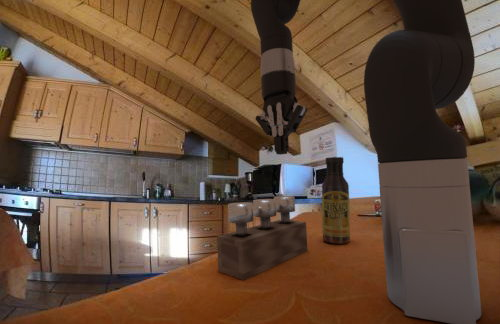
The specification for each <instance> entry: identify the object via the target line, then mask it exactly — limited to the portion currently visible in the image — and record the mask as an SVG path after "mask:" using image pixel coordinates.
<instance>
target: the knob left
mask: <svg viewBox="0 0 500 324" xmlns="http://www.w3.org/2000/svg"><path fill="white" fill-rule="evenodd" d="M227 210H228V211H227V212H228V223H231V224H235V231H236V237H239V238H243V237H247V228H248V223H252V222H254V209H253V202H247V201H246V202H245V201H244V202H231V203H228V204H227Z"/></svg>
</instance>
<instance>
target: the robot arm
mask: <svg viewBox="0 0 500 324" xmlns="http://www.w3.org/2000/svg"><path fill="white" fill-rule="evenodd" d="M392 1H393V3H394V5H395V7H396V8H397V10H398V13H399V15H400V17H401V20H402V23H403V29H400V30H399V29H398V30H395V31H392V32H390V33H387V34H386V35H384V36H383V37H382V38H380V39H379V40H378V41H377V42H376V44H375V45H374V47H372V49H371V51H370V53H369V55H368V57H367V61H366V64H365V69H364V73H363V74H364V75H363V91H364V100H365V108H366V115H367V122H368V123H367V124H368V131H369V137H370V141H371V143H372V146H373V148H374V150H375V152H376V158H377V169H378V184H379V185H378V186H379V197H380V198H379V199H380V211H381V213H380V215H381V225H382V227H381V228H382V239H383V242H382V243H383V254H384V255H383V256H384V264H385V265H384V266H385V278H386V279H385V280H386V291H387V292H386V293H387V297H388V299H389V301H390V302H391V303H393V304H394V305H395V306H397V307H398V308H400V310H402V311H403V312H404V315H405V316H408V317H412V318H417V319H418V318H419V319H423V320H429V321H435V322H440V323H447V324H477V320H479V319H481V316H482V307H481V306H482V303H481V294H480V293H481V292H480V284H479V283H480V282H479V275H478V274H479V273H478V266H477V265H478V263H477V255H476V253H477V251H476V243H475V240H476V239H475V232H474V220H473V218H474V217H473V210H472V198H471V188H470V187H471V186H470V174H469V173H470V172H469V163H468V151H467V143H466V139H465V137H464V135H463V134H462V133H460V132H459V131H457V130H455V129H454V128H452V127H450V126H449V125H447V124H446V123H445V122H444V121H443V119H442V118H441V117H440V115H439V114H438V113H437V112H438V111H437V110H439V109H444V108H447V107H449V106H452V105H453V104H454V103H456V102H457V101H458V100H459V99H460V98H461V97H462V96H464V94H465V92H466V91H467V90H468V88H469V86H470V84H471V82H472V78H473V75H474V73H475V72H474V71H475V63H476V60H475V50H474V44H473V40H472V36H471V33H470V29H469V25H468V20H467V16H466V13H465V9H464V4H463V1H462V0H392ZM300 3H301V0H250V10H251V15H252V19H253V21H254V24H255V28H256V30H257V31H256V32H257V35H258V37H259V40H260V82H261V83H260V85H261V97H262V100H263V105H262V112H261V113H260V115H256V116H255V121H256V123H257V124H258V125H259V126H260V128H261V129H262V131H263V132H264V133H265V135H267V136H271V137H272V138H273V145H274V146H273V147H274V152H275V153H276V155H279V156H280V155H287V154H288V152H289V148H290V146H289V145H290V144H289V143H290V142H289V136H290V135H291V134H293V133H296V132H297V130H298V128H299V126H300V125H301V123H302V121H303V119H304V118H305V115H306V114H307V112H308V107H307V106H304V105H302V104H300V103H299V102H298V99H297V97H296V95H297V86H296V85H297V82H296V79H297V78H296V66H295V65H296V64H295V59H294V49H293V35H292V34H293V33H292V31H291V29H290V28H289V27H288V26H287V24H288V23H290V22H291V21H292V20H293V19H294V17H295V16H296V14H297V13H298V9H299V6H300Z"/></svg>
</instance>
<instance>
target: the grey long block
mask: <svg viewBox="0 0 500 324" xmlns="http://www.w3.org/2000/svg"><path fill="white" fill-rule="evenodd" d="M270 222H271V229H270V230H267V231H266V230H261V228H260V224H258V225H255V226H251V227H247V237H243V238H239V237H236V230H235V231H232V232H228V233H225V234H219V235H217V236H216V246H217V249H216V250H217V270H218V272H220V273H223V274H225V273H226V275H228V274H229V276H231V277H233V276H234V277H233V278H237V279H239V280H242V281H245V280H247V279H249V278H252V277H255V276H256V275H259V274H261V273H262V272H264V271H267V270H269V269H271V268H273V267H276V266H278V265H279V264H281V263H282V264H283V262H286V261H288V260H290V259H292V258H295V257H296V256H299V255H301V254H303V253H305V252H308V237H307V236H308V235H307V222H306V221H300V220H292V219H290V224H287V225H286V224H281V219H277V220H274V221H270Z"/></svg>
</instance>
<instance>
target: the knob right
mask: <svg viewBox="0 0 500 324" xmlns="http://www.w3.org/2000/svg"><path fill="white" fill-rule="evenodd" d="M273 199H275V200H276V213H280V214H279V215H280V216H279V217H280V219H279V220H281V224H286V225H287V224H290V220H291V217H290V216H291V214H290V213H294V212H296V202H295V201H296V199H295V196H294V195H280V196H274V197H273Z"/></svg>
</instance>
